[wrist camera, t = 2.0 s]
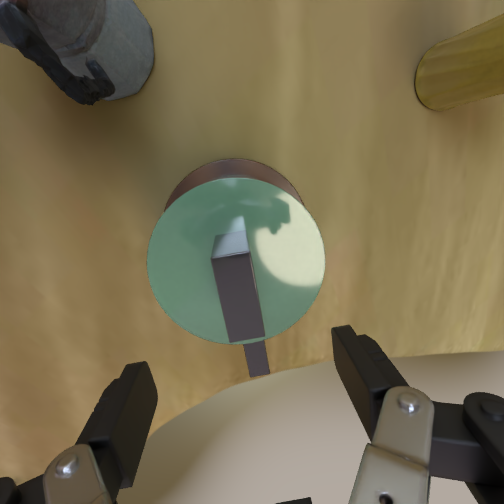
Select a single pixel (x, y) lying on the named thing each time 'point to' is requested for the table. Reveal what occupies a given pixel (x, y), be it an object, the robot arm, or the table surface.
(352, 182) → the table surface
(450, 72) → the vase
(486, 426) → the robot arm
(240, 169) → the trivet
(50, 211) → the table surface
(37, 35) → the moka pot
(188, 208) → the pot
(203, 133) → the table surface
